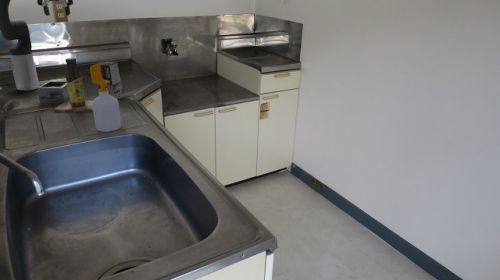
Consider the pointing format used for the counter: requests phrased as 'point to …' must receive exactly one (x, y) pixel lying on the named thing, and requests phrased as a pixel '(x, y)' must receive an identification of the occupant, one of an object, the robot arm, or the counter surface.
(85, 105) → the walnut board
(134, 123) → the counter surface
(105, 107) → the spray bottle
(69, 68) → the sauce bottle
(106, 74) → the coffee box
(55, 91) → the grey open box
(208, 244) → the counter surface
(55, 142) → the counter surface
